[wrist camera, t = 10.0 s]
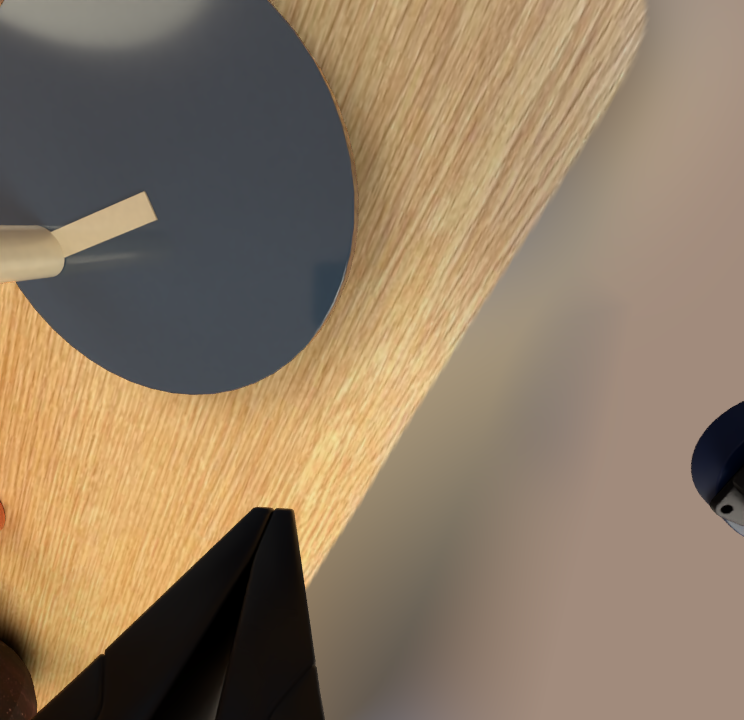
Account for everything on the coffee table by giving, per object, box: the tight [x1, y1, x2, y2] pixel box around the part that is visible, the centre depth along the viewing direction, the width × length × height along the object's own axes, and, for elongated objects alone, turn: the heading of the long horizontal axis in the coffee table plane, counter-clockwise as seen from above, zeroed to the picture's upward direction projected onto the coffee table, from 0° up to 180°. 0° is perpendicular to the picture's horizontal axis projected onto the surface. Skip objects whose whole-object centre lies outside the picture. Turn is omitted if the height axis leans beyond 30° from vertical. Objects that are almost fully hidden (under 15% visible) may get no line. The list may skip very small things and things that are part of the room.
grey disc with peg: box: [0, 0, 359, 395], centre depth 13 cm, size 18×18×9 cm
